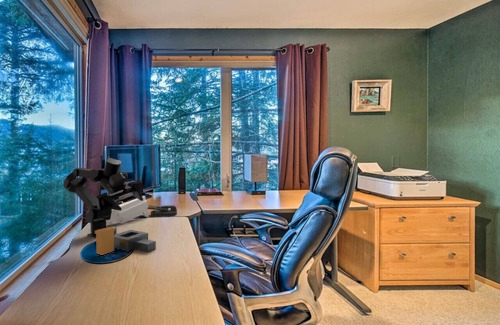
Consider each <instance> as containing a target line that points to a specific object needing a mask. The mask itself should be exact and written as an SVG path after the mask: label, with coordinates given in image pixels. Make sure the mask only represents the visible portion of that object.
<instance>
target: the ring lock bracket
mask: <svg viewBox="0 0 500 325" xmlns="http://www.w3.org/2000/svg"><path fill="white" fill-rule="evenodd" d="M107 227H113V228H115V231H114V247H116V248H120V249H125V250H131V249H134V250H136V251H140V252H144V253H149V252H152V251H154V250H156V249H157V248H156V247H157V241H156V240H150V239H149V232H146V231H145V232H144V231H138V230H135V229H129V230H124V231H122V232H118V233H117V231H118V230H117V228H118V227H117V225H116V226H115V225H111V226H110V225H108V226H107ZM107 227H106V228H107ZM131 251H132V250H131Z"/></svg>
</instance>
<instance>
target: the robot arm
mask: <svg viewBox="0 0 500 325" xmlns="http://www.w3.org/2000/svg"><path fill="white" fill-rule="evenodd" d="M121 164H122V161H121V160H118V159H116V158H112V157H107V158H106V161H105V164H104V168H94V169H93V168H92V169H91V168H85V167H75V168H73V170H72V172H70V173H69V174H67V175H66V176H65V178H64V180H63V187H64V188H65V190H66V191H67V192H70V193H74V194H75V195H76V196H77V197H78V198H79V199H80V200H81V201H82V202H83V203H84V205H85V206H86V207H87V208H88V212H87V214H86V215H85V222H86V223H88V224H90V233H87V236H90V237H94V238H96V234H95V231H96V230H100V229H103V228H106V227H108V225H106V221H105V220H110V218H111V213H112V209H113V210H120V211H121V207H120V206H119V205H120V204H118V203H117V202H116V201H117V200H120V199H122V198H124V197H126V196H128V195H131V194H132V195H133V196H134V197H135V199H139V200H141V201H143V195H142V194H143V193H144V182H143V181H142V180H140V179H139V180H136V181H133V182H131V183H130V185H131V186H130V187H129V188H126V187H127V184H126V183H125V181H127V180H128V179H129V175H128V173H127V172H125V171H121V172H120V169H121V166H122V165H121ZM88 179H89V181H91V182H93V183H99V191H106V192H103V193H100V194H98V195H96V196H95V195H94V194H93V193H92V191H90V190H89V189H88V188H87V186H86V184H87V182H88Z"/></svg>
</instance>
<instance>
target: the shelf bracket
mask: <svg viewBox="0 0 500 325" xmlns="http://www.w3.org/2000/svg"><path fill="white" fill-rule="evenodd" d="M142 197H143V201H141V200H139V199H137V198H135V199H132V200H129V201H126V202H124V203H121V204H118V205H119V206H120V207H121V211H120V210H113V209H112V213H111V218H110V220H105V221H106V225H107V226H110V225H111V224H113V223H117V224H125V223H127V222H129V221H131V220H133V219H136V218H137V217H139V216H141V215H142V216H144V217H147V218H149V217H150V215H149V209H147V207H148V205H149V203H148V200H147V199H146V196H145V195H142Z"/></svg>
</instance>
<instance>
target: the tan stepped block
mask: <svg viewBox="0 0 500 325" xmlns="http://www.w3.org/2000/svg"><path fill="white" fill-rule="evenodd" d="M114 231H115V228H113V227H109V226H107V228H103V229H100V230H96V231H95V234H96V237H95V238H96V240H95V241H96V246H95V247H96V252H95V253H97V254H100V255H104V254H107V253H109V252H112V251H114V252H115V248H114ZM112 253H113V252H112ZM107 255H108V254H107ZM104 256H105V255H104Z"/></svg>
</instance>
